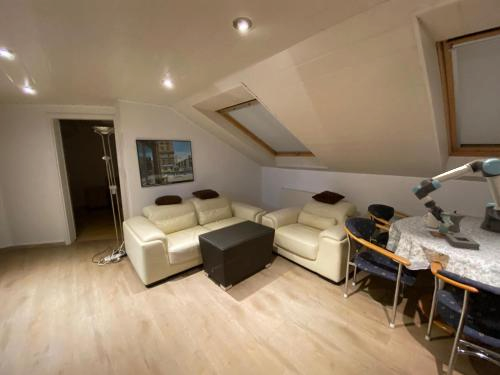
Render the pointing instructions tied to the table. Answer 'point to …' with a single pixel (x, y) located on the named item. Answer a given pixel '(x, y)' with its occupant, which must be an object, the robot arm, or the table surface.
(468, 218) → the table surface
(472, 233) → the table surface
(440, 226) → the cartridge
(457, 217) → the coffeepot
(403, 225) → the table surface
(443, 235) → the pad
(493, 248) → the table surface
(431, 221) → the mug
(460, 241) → the housing
